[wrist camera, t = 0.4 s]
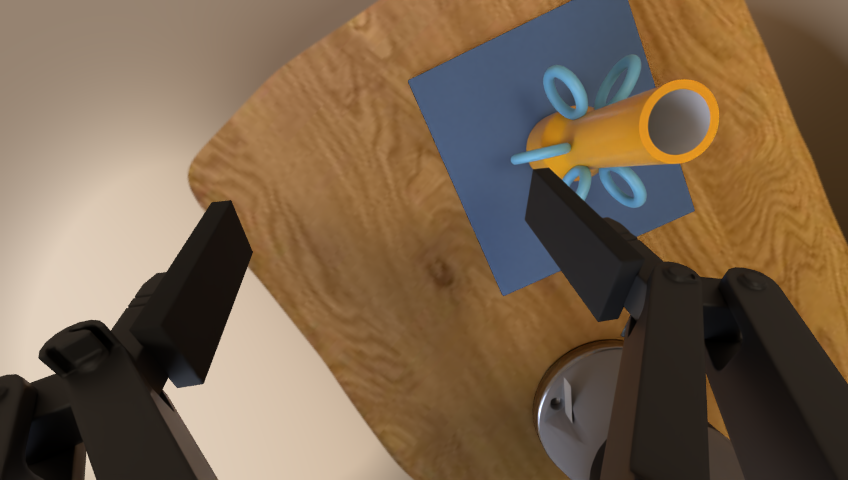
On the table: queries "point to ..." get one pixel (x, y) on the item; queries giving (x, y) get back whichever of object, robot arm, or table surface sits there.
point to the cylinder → (620, 130)
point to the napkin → (516, 117)
